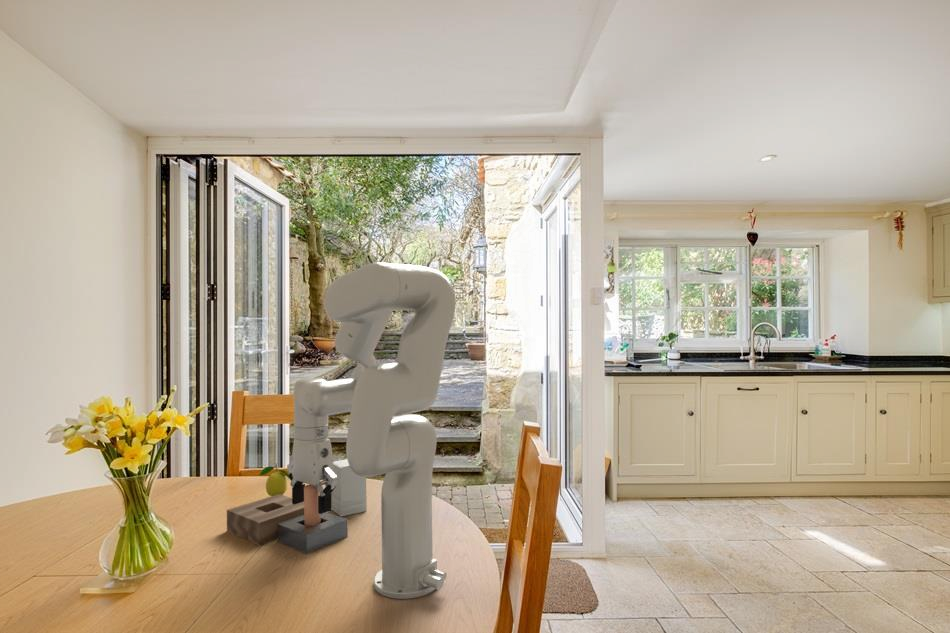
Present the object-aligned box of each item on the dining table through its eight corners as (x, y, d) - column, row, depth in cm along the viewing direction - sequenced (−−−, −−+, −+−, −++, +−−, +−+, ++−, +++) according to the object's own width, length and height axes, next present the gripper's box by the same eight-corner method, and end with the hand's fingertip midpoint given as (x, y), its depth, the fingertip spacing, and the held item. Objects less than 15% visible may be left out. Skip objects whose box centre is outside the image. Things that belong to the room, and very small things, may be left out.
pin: (324, 538, 122) (323, 485, 122) (310, 543, 119) (310, 490, 119) (314, 534, 124) (313, 483, 124) (301, 539, 121) (300, 487, 121)
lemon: (259, 499, 149) (259, 464, 149) (277, 493, 154) (277, 459, 154) (273, 504, 145) (273, 467, 145) (292, 498, 150) (291, 462, 150)
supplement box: (367, 511, 139) (366, 462, 139) (339, 517, 135) (339, 467, 135) (356, 503, 145) (356, 457, 145) (330, 509, 141) (329, 461, 141)
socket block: (312, 525, 130) (312, 504, 130) (259, 545, 118) (259, 522, 118) (279, 513, 138) (279, 494, 138) (226, 530, 127) (226, 509, 127)
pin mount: (347, 536, 122) (347, 519, 122) (306, 553, 114) (306, 535, 114) (318, 526, 129) (317, 509, 129) (277, 541, 120) (277, 523, 120)
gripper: (349, 434, 119) (349, 510, 119) (302, 425, 130) (302, 495, 130) (321, 441, 113) (321, 521, 113) (274, 430, 124) (275, 503, 124)
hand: (311, 507), depth 122 cm, fingers open, 9 cm apart
